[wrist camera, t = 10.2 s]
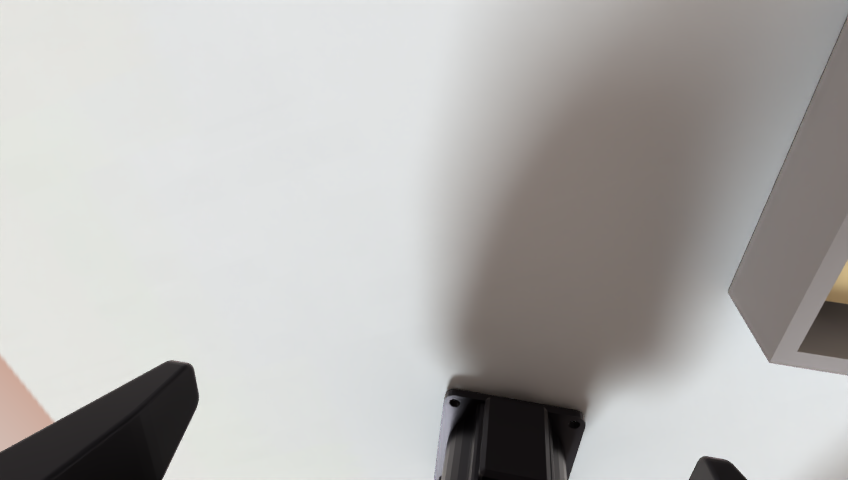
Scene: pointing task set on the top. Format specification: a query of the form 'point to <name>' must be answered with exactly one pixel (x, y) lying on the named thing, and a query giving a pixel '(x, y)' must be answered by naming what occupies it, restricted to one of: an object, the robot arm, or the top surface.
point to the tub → (805, 239)
